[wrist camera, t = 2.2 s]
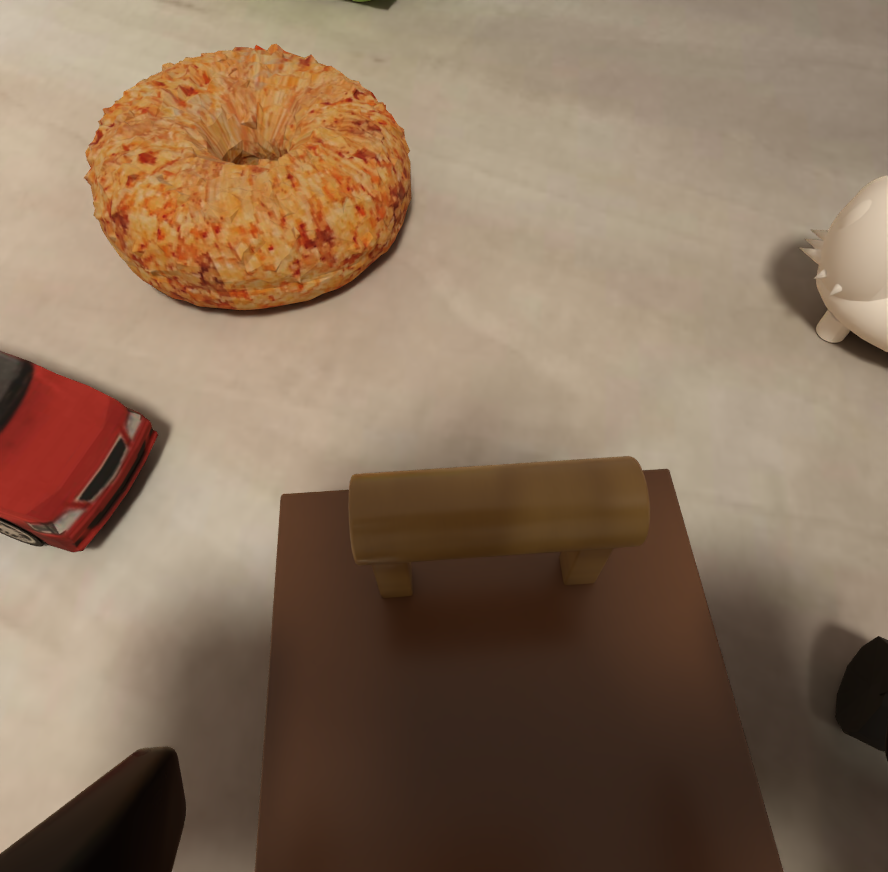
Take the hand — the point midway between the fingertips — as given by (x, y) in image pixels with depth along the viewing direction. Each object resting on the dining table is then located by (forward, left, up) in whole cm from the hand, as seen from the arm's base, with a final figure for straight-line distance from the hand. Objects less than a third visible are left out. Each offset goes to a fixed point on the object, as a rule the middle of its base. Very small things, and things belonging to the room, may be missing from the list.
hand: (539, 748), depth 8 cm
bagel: (+13, +20, -11) cm, 27 cm away
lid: (+1, +1, -6) cm, 6 cm away
